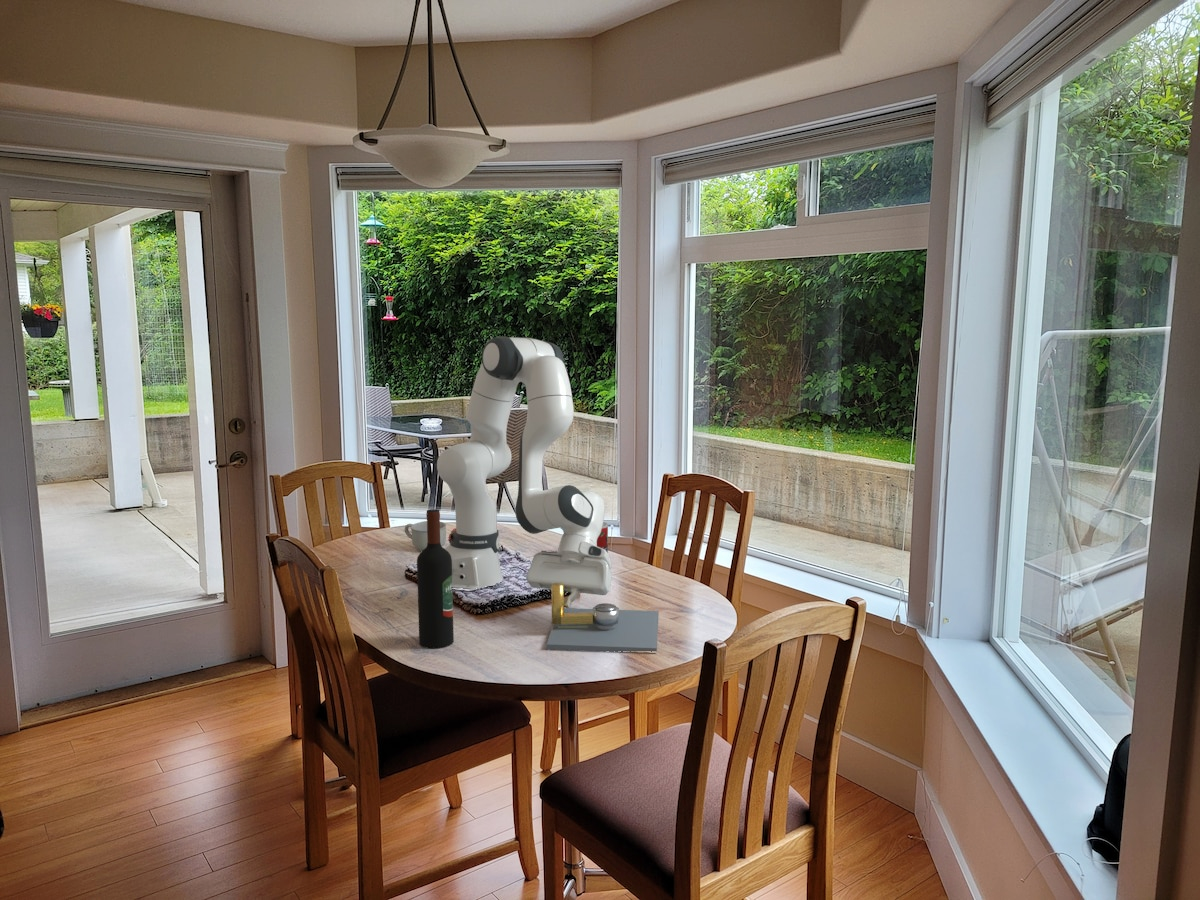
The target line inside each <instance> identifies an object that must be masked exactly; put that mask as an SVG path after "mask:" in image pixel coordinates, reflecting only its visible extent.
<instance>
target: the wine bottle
mask: <svg viewBox="0 0 1200 900" xmlns="http://www.w3.org/2000/svg"><path fill="white" fill-rule="evenodd" d="M440 519H441V513H440V509H435V508H433V509H428V510H426V521H427V540H428V543H427V547H426V548H425V549H424V550H423V551H420V553H419V554H418V555H417V557H416V570H417V571H416V573H417V574H416V575H417V576H416V578H417V580H416V581H417V605H418V606H417V609H418V639H419V641H418V644H419V646H420V647H421V648H422V647H423V648H424V649H433V650H434V649H442V648H447V647H449V646H451V645H452V644H453V643H454V640H455V639H454V638H455V637H454V602H453V601H454V593H453V591H454V590H452V559H451V555H450V554H449V552H448V551H447V550H445V548H444V547H443V546H442V547H441V543H440V522H441V520H440Z"/></svg>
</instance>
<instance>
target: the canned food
mask: <svg viewBox="0 0 1200 900" xmlns="http://www.w3.org/2000/svg"><path fill="white" fill-rule="evenodd" d="M608 536H609V525H608V523H607V522H604V521H603V526H602V530H601V533H600V535H599V537H598V538H597V547H600V548H602V549H604V550H606V552H607V553H608V554H609V552H608V551H609V548H608V547H609V546H608V545H609V541H608V539H609V538H608Z"/></svg>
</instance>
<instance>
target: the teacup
mask: <svg viewBox="0 0 1200 900" xmlns="http://www.w3.org/2000/svg"><path fill="white" fill-rule="evenodd" d="M446 527H447V524H446V523H445V522H442V521H440V543H441V547H443V546H445V544H446V541H447V540H446V539H447V530H446V529H447V528H446ZM409 528H410V529H411V531H410V530H409ZM404 534H405V535H406V536H407V537H408V538H409V539H410V540H411V542H412V545H413V547H415V549H417V550H418V551H420V552H422V551H423V550H424V549H425V548H426V547H427V543H428V540H427V520H426V521H425V520H424V521H420V522H415V523H407V524H406V525H405V527H404Z"/></svg>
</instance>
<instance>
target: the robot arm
mask: <svg viewBox="0 0 1200 900" xmlns="http://www.w3.org/2000/svg"><path fill="white" fill-rule="evenodd" d="M564 360H565V359H564V353H563V351H562V350H561V348H560V347H559V346H558V345H557V344H554V343H552V342H550V341H547V340H540V339H535V338H531V337H508V336H504V335H502V336H495V337H492V338H490V339H488V340H487V341H486V344H485V345H484V347H483V350H482V353H481V365H480V367H479V369H478V372H477V375H476V376H475V381H474V383H473V387H472V392H471V395H470V399H469V402H468V406H467V410H466V414H465V415H466V420H467V422H468V423H469V424H470V429H471V431H470V439H469V440H468V441H465V442H462V443H457V444H454V445H452V446H450V447H448V448H446V449H445V450H444V451H442V452H441V453H440V454H439V456H438V458H437V462H436V469H437V470H436V471H437V473H438V475H439V477H440V479H441V480H442V481H443V482H444V483H446V485H447V486H448V487H449V489H450V492H451V494H452V498H453V502H454V508H455V509H454V511H455V512H454V513H455V528H453V529H452V530H451V531H450V533H449V534H448V535H449V536H448V537H447V538H448V542H449V545H447V546H445V548H444V549H445V550H447V551H448V552H449V554H450V555H451V559H452V587H454V588H463V589H476V588H478V587H485V586H490V585H493V584H496V583H498V582H501V581H502V580H503V578H504V575H503V572H502V568H501V564H500V556H499V550H500V534H499V529H498V517H497V516H498V515H497V514H498V512H497V509H498V507H497V502H496V500H495V499H494V498H493V497H491V496H490V494H489V491H488V488H487V483H486V481H487V479H491V478H495V477H497V476H499V475H500V474H502V473H503V472H504V471H506V470H507V469H508V468H509V466H510V465H511V463H512V451H511V449H510V446H509V444H508V443H507V429H508V422H509V418H510V414H511V411H512V407H513V403H514V399H515V396H516V392H517V387H518V386H519V383H523V384H524V386H525V390H526V391H525V392H526V402H527V404H526V405H527V416H526V422H525V426H524V428H523V430H522V432H521V435H520V440H519V451H518V452H519V453H518V488H517V489H518V491H517V498H516V501H515V509H514V511H515V519H516V521H517V523H518V524H519V525H520V527H521V528H522V529H523V530H524V531H526V532H527V533H529V534H531V535H532V534H533V535H536V534H539V533H542V532H546V531H549V530H554V529H561V530H562V532H563V534H562V536H561V539H560V541H559V545H558V548H557V551H548V550H541V551H540V552H537V553H535V554H534V555H533V557H532V561H531V564H530V566H529V568H528V571H527V573H526V576H525V579H526V581H527V583H528V585H529V586H530V587H531V588H535V589H536V588H537V589H545V590H546V589H547V590H550V591H551V593H552V587H551V585H552V584H553V583H563V584H564V592H570V594H569V596H568V597H564V608H572V604H573V602H574V601H576V599H577V598H579V595H580V594H581V593H582V594H589V595H598V596H606V595H607V594H608V593H609V592H610V589H611V584H612V576H613V575H612V571H611V569H612V566H613V565H612V564H613V562H612V560H611V557H610V555H609V552H608V553H607V552H606V550H604V549H602V548H600V547H597V538H598V537H599V535H600V533H601V530H602V526H603V522H604V520H605V515H606V514H605V512H606V506H605V501H604V499H603V498H602V497H601V496H600V495H599V494H597V492H595V491H591V490H580V489H579V488H577V487H576V486H574V485H571V484H568V485H561V486H557V487H552V488H549V489H544V490H543V458H544V456H545V453H546V451H547V450H548V449H549V448H550V447H551V445H552V444H553V443H554V442H556V441H557V440H559V438H561V437H562V436H563V435H564V434H566V432H567V431H568V430H569V429H570V427H571V426H572V423H573V420H574V412H575V408H574V401H573V394H572V389H571V383H570V378H569V375H568V371H567V368H566V365H565V363H564Z"/></svg>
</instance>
